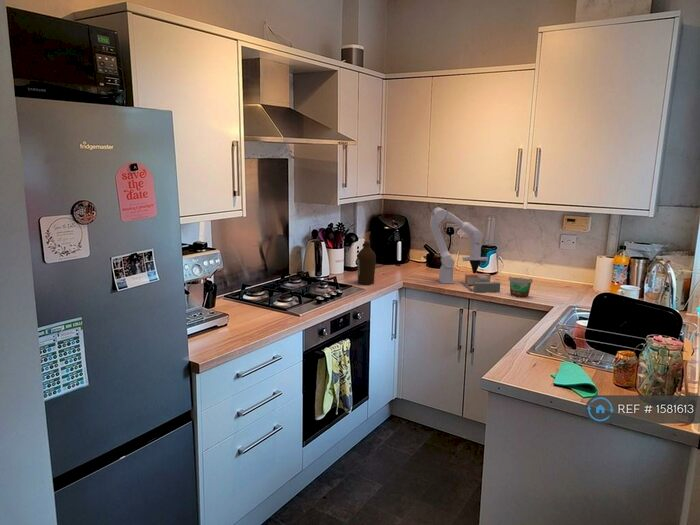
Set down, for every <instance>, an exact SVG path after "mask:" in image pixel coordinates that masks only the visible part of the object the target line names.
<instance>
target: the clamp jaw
mask: <svg viewBox="0 0 700 525" xmlns="http://www.w3.org/2000/svg"><path fill="white" fill-rule="evenodd" d="M477 275H486V276H487V277H488V282H491V277H492V276H491V274H490V273H465V274H464V283H466V284H467V285H468V286H474V282H476V278H477Z"/></svg>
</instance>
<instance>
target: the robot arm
mask: <svg viewBox="0 0 700 525" xmlns="http://www.w3.org/2000/svg"><path fill="white" fill-rule="evenodd" d="M444 220H448V221H449V220H450V221H451V222H453V223H455V224H456V225H457V226H459V228H460V231H462V232H463V233H464V234H466V235H468V236H470V238H471V242H470V256H465V257H462V261H463V262H469V263H470V266H471V270H472V274H477V272H478V268H479V266H480V265H481V262H488V261H489V258H488V257H487V256H481V252H482V240H483V238H484V235H483V232H482V230H479V229H478V227H477V226H474V225H472V223H471V222H470V221H462V220H461V219H460V218H459V217H458V216H456V215H454V213H452V212H450V211H448V210H445V209H443V208H442V207H440V206H438V207H435V208H433V211H432V212H431V217H430V222H429V226H430V227H429V228H430V229H431V232H432V235H433V237H434V240H435V242H436V245H437V248H438V252H439V255H440V262H441V265H440V268H439V271H438V274H439V275H438V278H437V281H439V282H440V283H441V284H456V282H455V281H454V280H453V279H454V265H455V259H454V258H453V257H452V256H451V254H450V251H449V250H448V246H447V244H446V242H445V239H444V236H443V233H442V231H441V228H440V225H441V222H443V221H444Z"/></svg>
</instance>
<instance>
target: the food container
mask: <svg viewBox="0 0 700 525" xmlns="http://www.w3.org/2000/svg"><path fill="white" fill-rule="evenodd" d="M508 281H509V295H510V294H511V295H510V296H512V295H513V296H512V297H514V296H516V297H515V298H528V297H529V295H530V290H531V285H532V283H533V278H523V277H512V276H509V278H508ZM527 296H528V297H527Z"/></svg>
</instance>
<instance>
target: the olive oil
mask: <svg viewBox="0 0 700 525" xmlns="http://www.w3.org/2000/svg"><path fill="white" fill-rule="evenodd" d="M370 241H371V240H369V239H364V241H363V247H362V248H361V249H360V250H359V251H358V253H357V258H356V259H357V260H356V261H357V265H356V266H357V284H358V283H359V285H361V284H362V285H361V286H371V284H372V285H374V284H375V276H376V274H375V272H376V262H377V255H376V253H375V251H374V250H373V249H372V248H371V242H370Z"/></svg>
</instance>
